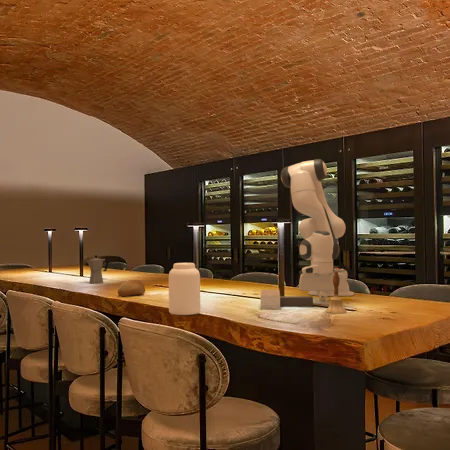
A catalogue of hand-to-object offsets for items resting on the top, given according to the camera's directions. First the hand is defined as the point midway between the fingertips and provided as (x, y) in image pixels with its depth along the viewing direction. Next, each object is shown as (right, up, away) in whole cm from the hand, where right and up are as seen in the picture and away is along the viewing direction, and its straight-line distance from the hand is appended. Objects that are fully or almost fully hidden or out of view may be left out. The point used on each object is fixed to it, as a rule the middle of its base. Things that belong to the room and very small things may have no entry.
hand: (323, 301), depth 221 cm
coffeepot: (-124, -5, +114) cm, 169 cm away
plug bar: (-12, -2, +1) cm, 13 cm away
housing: (-22, -2, +2) cm, 22 cm away
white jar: (-58, -3, -15) cm, 60 cm away
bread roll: (-90, -4, +45) cm, 100 cm away
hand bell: (+2, -2, -16) cm, 17 cm away
